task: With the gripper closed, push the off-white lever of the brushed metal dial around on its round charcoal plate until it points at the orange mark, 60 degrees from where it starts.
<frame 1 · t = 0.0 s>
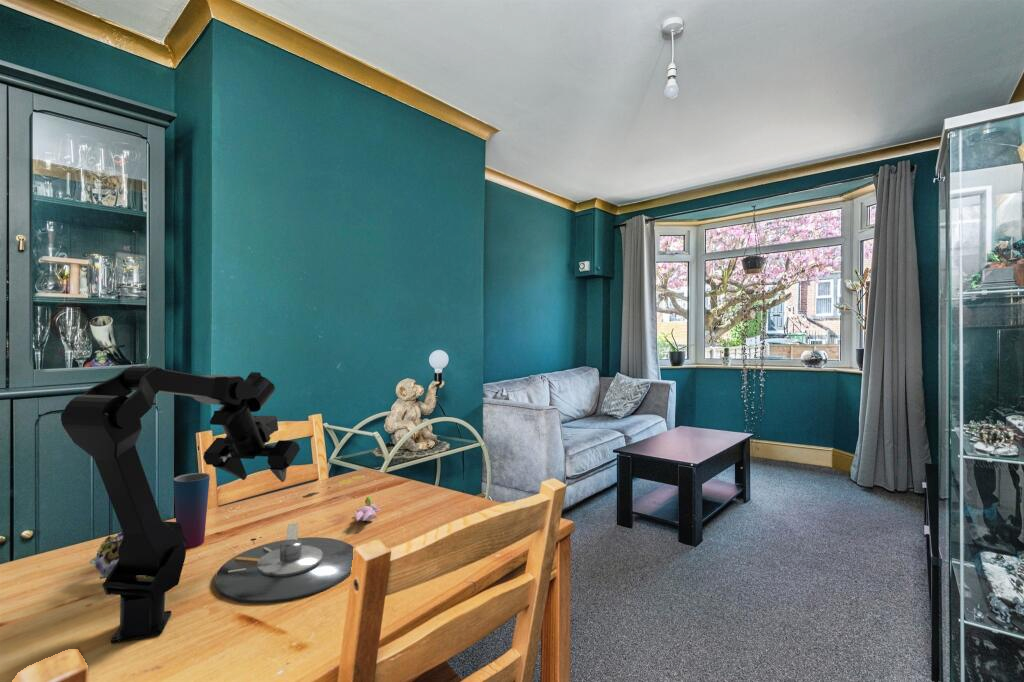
hand: (264, 479, 109), 15 cm above the table, tool tilted 35°, fingers open, 9 cm apart
dial plate: (290, 568, 99), on the table
passion flower: (133, 577, 95), on the table
cup: (190, 544, 109), on the table
dial: (291, 547, 101), point 3 cm above the table, hinge at 0.0°
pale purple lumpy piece: (366, 521, 126), on the table
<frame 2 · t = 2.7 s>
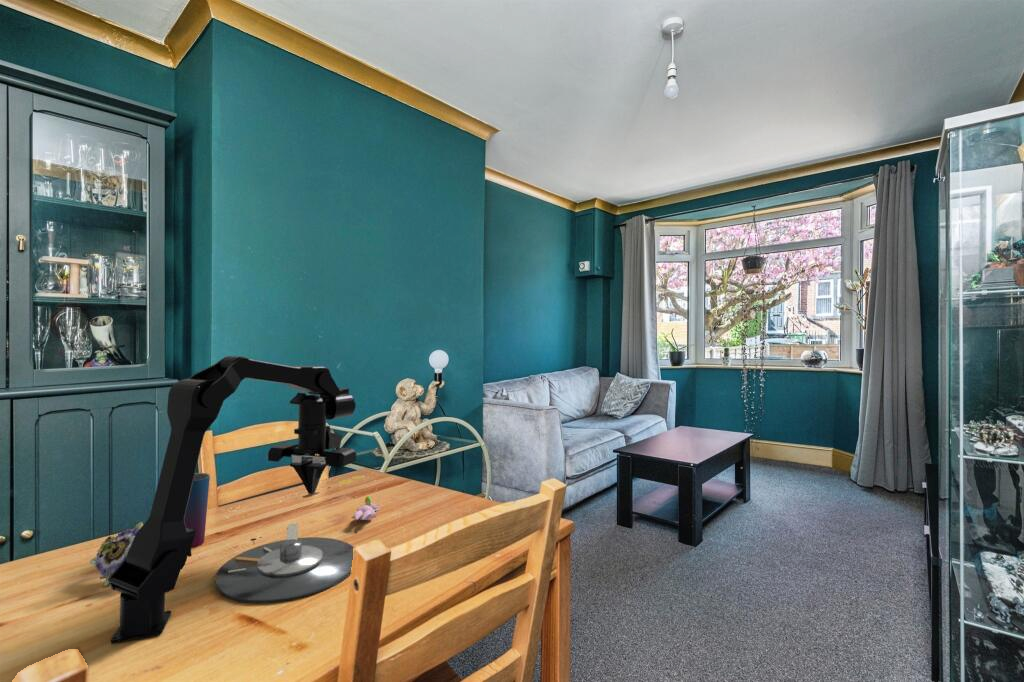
hand: (311, 493, 108), 12 cm above the table, tool pointing down, fingers closed
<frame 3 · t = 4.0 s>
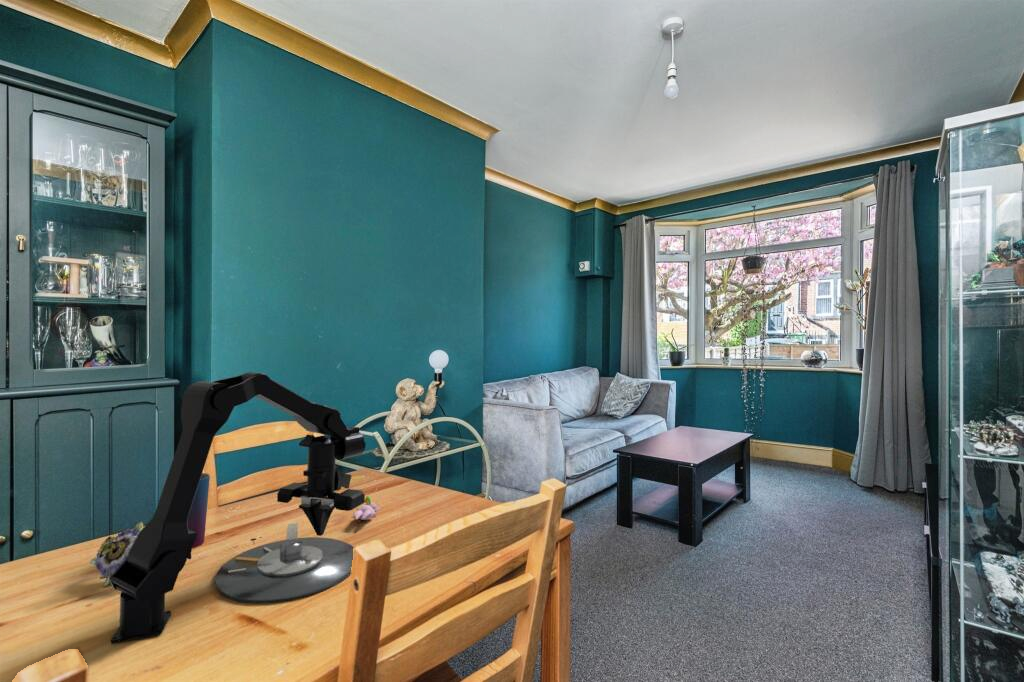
hand: (320, 535, 108), 3 cm above the table, tool pointing down, fingers closed
nothing on the table moved.
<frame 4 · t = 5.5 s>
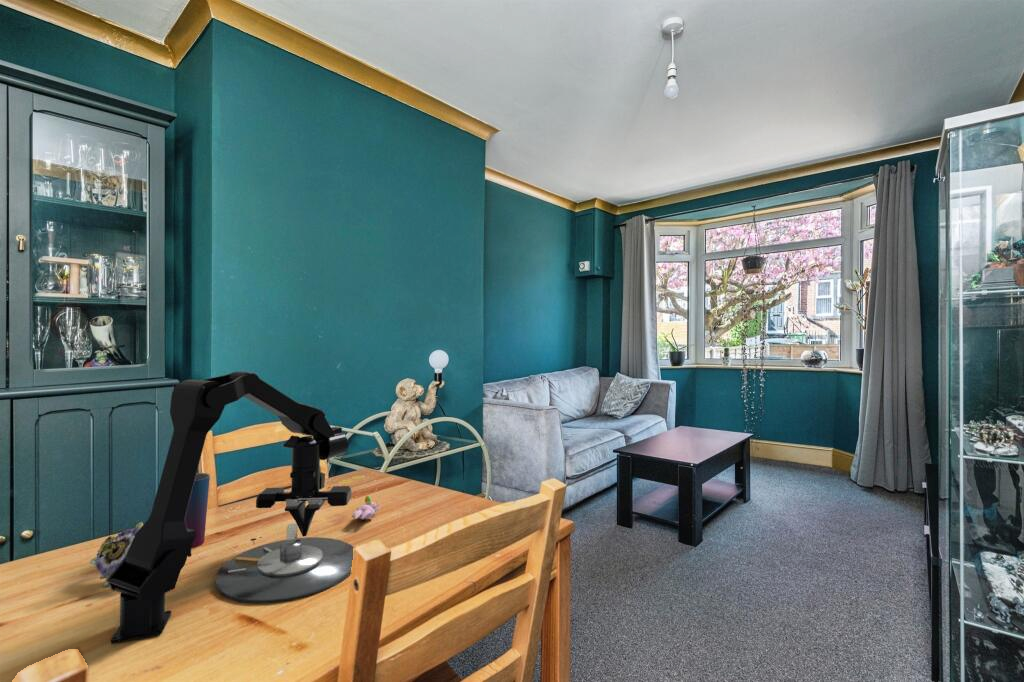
hand: (304, 535, 108), 3 cm above the table, tool pointing down, fingers closed
dial: (291, 547, 101), point 3 cm above the table, hinge at 0.2°, touching gripper
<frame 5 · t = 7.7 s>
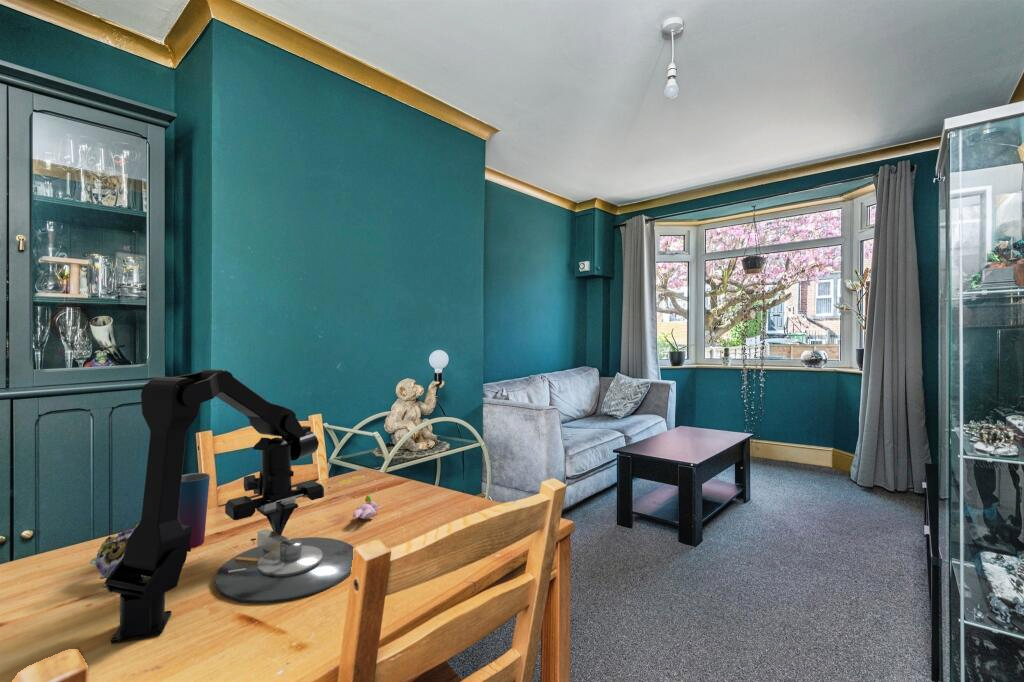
hand: (277, 537, 106), 3 cm above the table, tool pointing down, fingers closed
dial: (284, 549, 100), point 3 cm above the table, hinge at 32.8°, touching gripper
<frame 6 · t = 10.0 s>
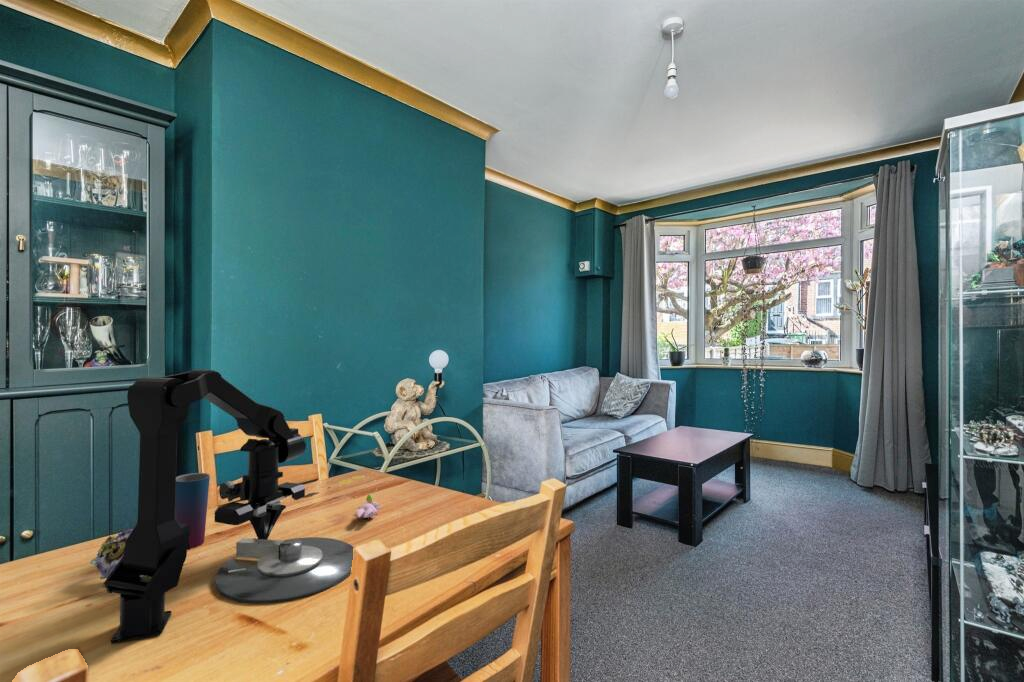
hand: (262, 542, 104), 3 cm above the table, tool pointing down, fingers closed
dial: (279, 551, 99), point 3 cm above the table, hinge at 62.4°
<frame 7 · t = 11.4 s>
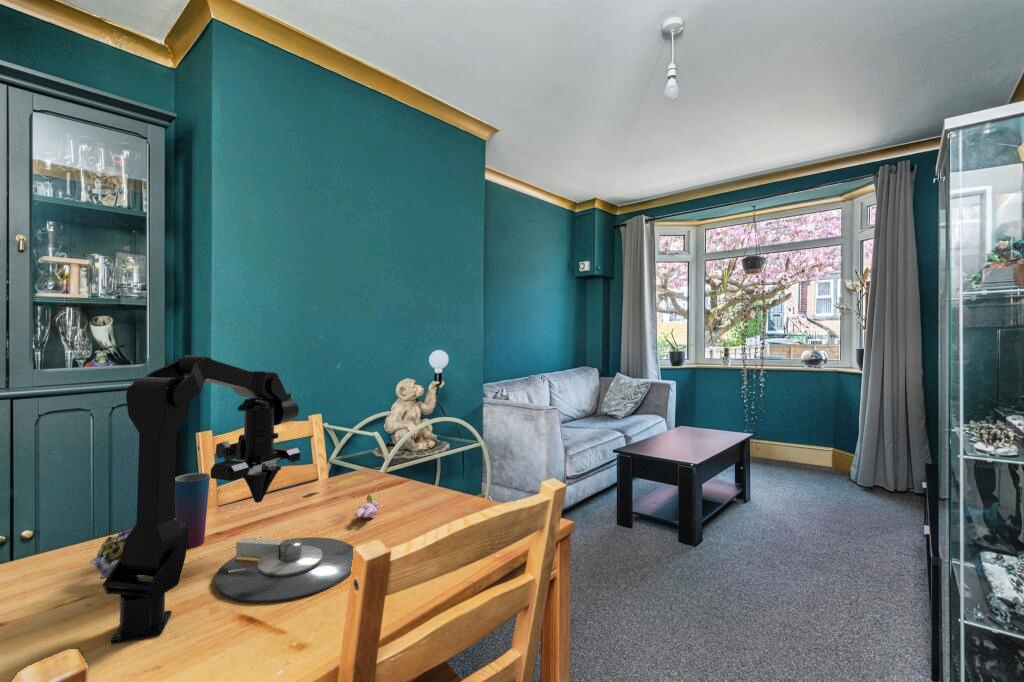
hand: (258, 502, 105), 11 cm above the table, tool pointing down, fingers closed
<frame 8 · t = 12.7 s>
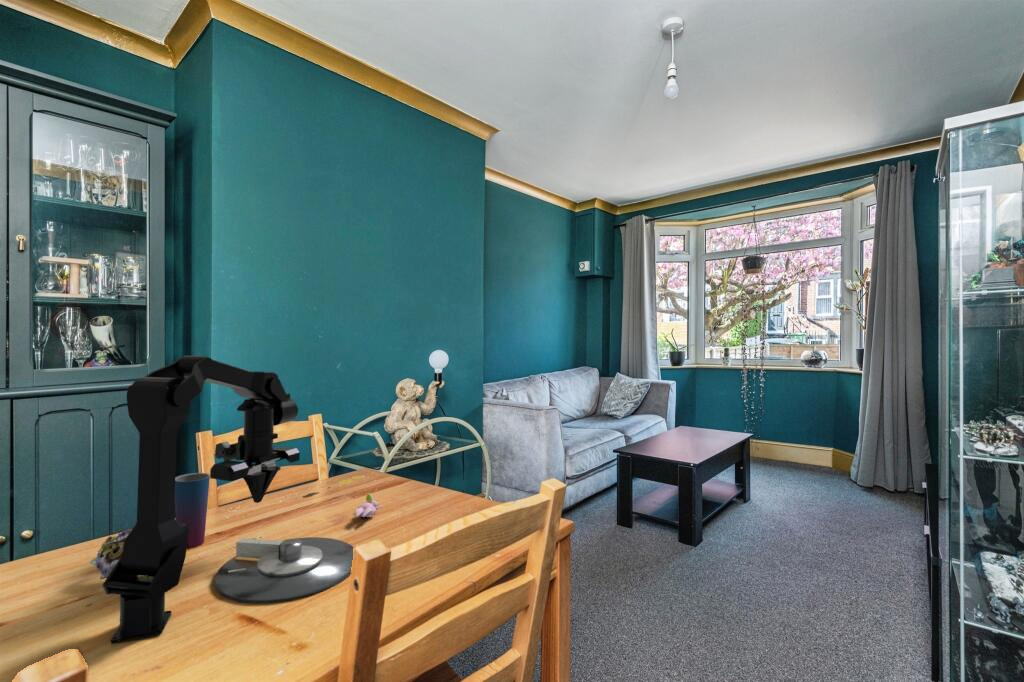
hand: (257, 502, 105), 11 cm above the table, tool pointing down, fingers closed
at the end: dial at +62° (first picture: +0°) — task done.
